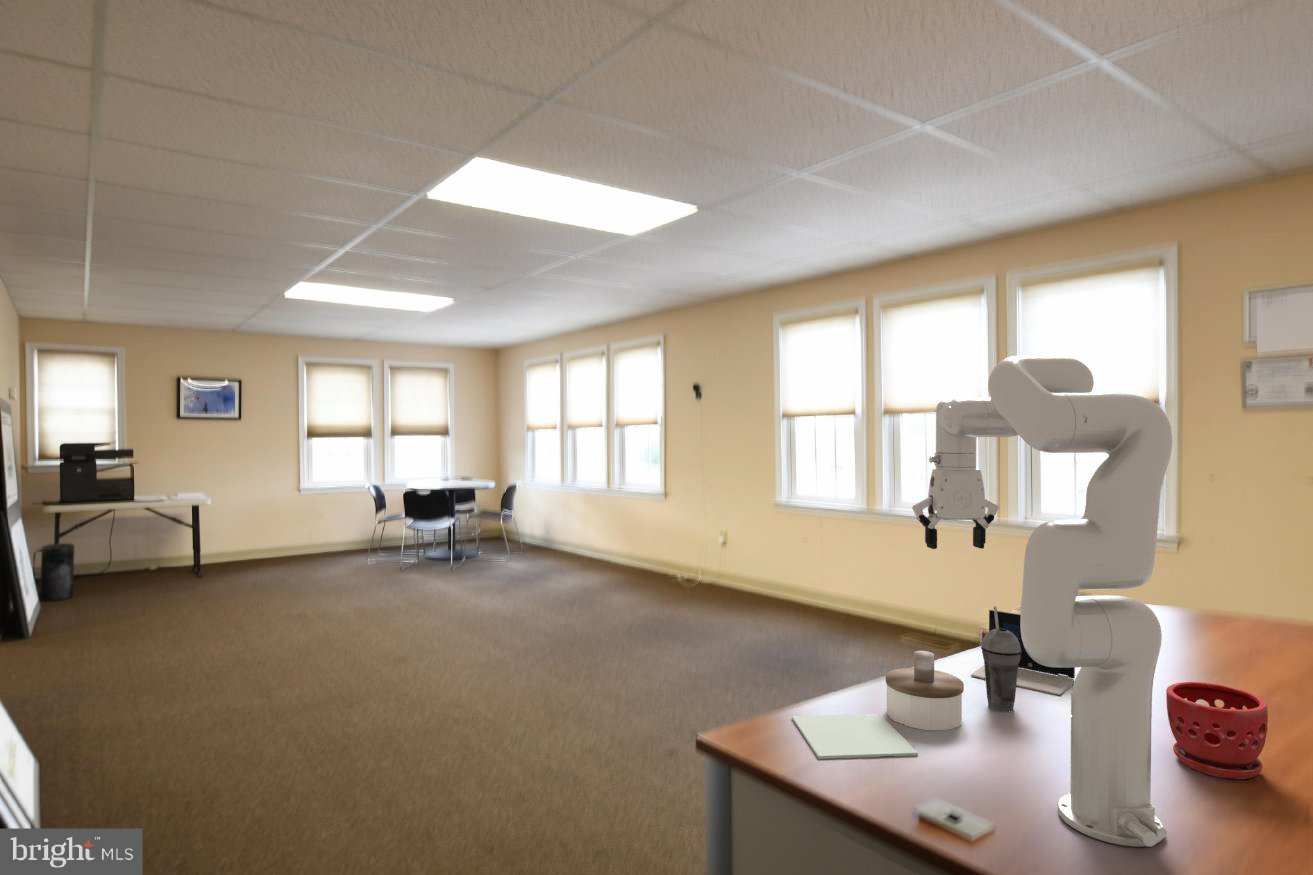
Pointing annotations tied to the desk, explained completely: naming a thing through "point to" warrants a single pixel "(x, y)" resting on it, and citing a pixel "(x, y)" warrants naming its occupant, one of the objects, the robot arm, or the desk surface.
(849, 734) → the mat
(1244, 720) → the plant pot
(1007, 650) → the beverage cup
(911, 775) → the desk surface
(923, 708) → the bowl
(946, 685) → the lid
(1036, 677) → the laptop
